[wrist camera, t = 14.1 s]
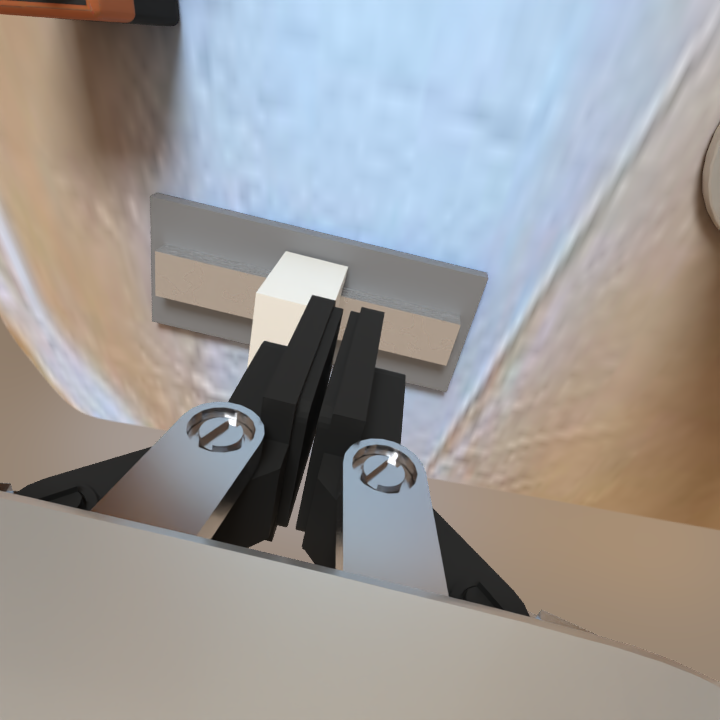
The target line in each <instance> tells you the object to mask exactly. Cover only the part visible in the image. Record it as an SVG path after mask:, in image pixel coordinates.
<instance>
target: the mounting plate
mask: <svg viewBox="0 0 720 720" xmlns="http://www.w3.org/2000/svg"><path fill="white" fill-rule="evenodd" d="M150 215H151V279H152V321H153V322H157V323H161V324H165V325H169V326H173V327H177V328H182V329H186V330H190V331H194V332H198V333H202V334H207V335H211V336H215V337H219V338H223V339H227V340H231V341H236V342H240V343H244V344H248V345H250V341H251V332H252V324H253V319H250V318H246V317H242V316H238V315H233V314H229V313H225V312H221V311H217V310H213V309H209V308H204V307H200V306H196V305H192V304H188V303H184V302H180V301H175V300H171V299H167V298H163V297H159V296H155V251H156V250H157V249H158V248H160V247H161V246H162V245H164V244H166V245H170V246H174V247H179V248H183V249H187V250H191V251H195V252H199V253H203V254H208V255H212V256H216V257H220V258H224V259H228V260H232V261H236V262H241V263H245V264H249V265H253V266H257V267H261V268H265V269H270V270H273V268H274V267H275V266H276V264H277V263H278V261H279V260H280V259H281V257H282V256H283V254H284V253H285V252H286V251H288V252H292V253H296V254H300V255H304V256H308V257H311V258H315V259H319V260H323V261H327V262H331V263H335V264H339V265H343V266H347V267H348V270H347V275H346V279H345V283H344V286H343V287H344V288H348V289H352V290H356V291H361V292H365V293H369V294H373V295H377V296H381V297H385V298H389V299H394V300H398V301H402V302H406V303H410V304H414V305H418V306H423V307H427V308H431V309H435V310H439V311H443V312H447V313H451V314H456V315H460V322H461V326H460V329H459V332H458V334H457V337H456V340H455V343H454V346H453V348H452V351H451V354H450V357H449V360H448V362H447V365H446V366H445V365H441V364H437V363H433V362H428V361H424V360H420V359H416V358H412V357H408V356H404V355H399V354H395V353H391V352H387V351H383V350H379V349H378V354H377V360H376V365H375V367H376V368H381V369H385V370H389V371H393V372H397V373H401V374H405V375H406V380H405V382H406V383H410V384H414V385H418V386H423V387H427V388H431V389H435V390H439V391H443V392H446V391H447V388H448V386H449V383H450V380H451V378H452V375H453V372H454V369H455V367H456V364H457V361H458V359H459V356H460V353H461V350H462V348H463V345H464V342H465V340H466V337H467V334H468V332H469V329H470V326H471V323H472V321H473V318H474V315H475V313H476V310H477V307H478V304H479V302H480V299H481V296H482V294H483V291H484V288H485V285H486V283H487V280H488V275H487V273H486V272H482V271H478V270H474V269H469V268H465V267H461V266H457V265H453V264H449V263H445V262H441V261H436V260H432V259H428V258H424V257H420V256H416V255H412V254H408V253H403V252H399V251H395V250H391V249H387V248H383V247H379V246H375V245H370V244H366V243H362V242H358V241H354V240H350V239H346V238H342V237H338V236H333V235H329V234H325V233H321V232H317V231H313V230H309V229H305V228H300V227H296V226H292V225H288V224H284V223H280V222H276V221H272V220H267V219H263V218H259V217H255V216H251V215H247V214H243V213H239V212H234V211H230V210H226V209H222V208H218V207H214V206H210V205H206V204H201V203H197V202H193V201H189V200H185V199H181V198H177V197H173V196H169V195H164V194H160V193H155V194H153V195H151V196H150ZM340 345H341V340H337V344H336V348H335V353H334V358H333V362H332V365H334V364H335V361H336V358H337V354H338V351H339V348H340Z"/></svg>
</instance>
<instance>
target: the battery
mask: <svg viewBox="0 0 720 720" xmlns="http://www.w3.org/2000/svg"><path fill="white" fill-rule="evenodd" d="M0 14H7V15H20V16H33V17H46V18H59V19H73V20H86V21H101V22H115V23H130V24H145V25H159V26H174V25H176V24H177V23H178V21H179V13H178V3H177V0H0Z"/></svg>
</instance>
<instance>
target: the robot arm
mask: <svg viewBox="0 0 720 720" xmlns="http://www.w3.org/2000/svg"><path fill="white" fill-rule="evenodd" d="M703 196H704V201H705V205H706V209H707V212H708V213H709V215H710V217H711V219H712V221H713V223H714V225H715V226H716V227H717V228H718V229H719V230H720V124H719V126H718V127H717V129H716V131H715V133H714V136H713V138H712V141H711V143H710V146H709V149H708V151H707V155H706V159H705V164H704V169H703ZM335 305H336V300H332V299H328V298H324V297H319V296H315V295H312V296H311V298H310V300H309V302H308V304H307V306H306V308H305V311H304V313H303V315H302V317H301V319H300V321H299V323H298V325H297V327H296V329H295V331H294V333H293V335H292V338H291V340H290V342H289V344H288V346H285V345H281V344H277V343H273V342H268V341H263V343H262V344H261V346H260V347H259V349H258V351H257V352H256V354H255V356H254V358H253V359H252V361H251V363H250V365H249V366H248V368H247V370H246V372H245V373H244V375H243V377H242V379H241V380H240V382H239V384H238V386H237V387H236V389H235V391H234V393H233V394H232V396H231V398H230V400H229V401H228V402H212V403H206V404H202V405H199V406H197V407H194V408H192V409H190V410H189V411H188V412H186V413H185V414H184V415H183V416H182V417H181V418H180V419H179V420H178V421H177V422H176V423H175V424H174V425H173V426H172V427H171V428H170V429H169V430H168V431H167V432H166V433H165V434H164V435H163V436H162V437H161V438H160V439H159V440H158V441H157V442H156V443H155V444H154V445H153V446H152V447H149V448H146V449H143V450H139V451H136V452H132V453H129V454H126V455H123V456H119V457H116V458H112V459H109V460H106V461H102V462H99V463H95V464H92V465H89V466H85V467H82V468H79V469H75V470H72V471H69V472H65V473H62V474H59V475H55V476H52V477H48V478H46V479H42V480H40V481H37V482H35V483H33V484H30V485H27V486H26V487H24V488H23V489H21V490H20V491H13V490H12V486H11V484H10V483H0V720H720V682H719V681H717V680H715V679H712V678H710V677H708V676H706V675H704V674H702V673H700V672H697V671H695V670H693V669H691V668H689V667H687V666H684V665H682V664H680V663H678V662H676V661H674V660H671V659H668V658H666V657H663V656H660V655H657V654H654V653H652V652H649V651H647V650H644V649H641V648H638V647H636V646H633V645H629V644H626V643H622V642H618V641H615V640H612V639H608V638H605V637H602V636H598V635H596V634H594V633H592V632H590V631H587V630H585V629H583V628H581V627H579V626H576V625H574V624H572V623H570V622H568V621H565V620H563V619H561V618H559V617H557V616H554V615H552V614H550V613H548V612H546V611H543V610H541V611H540V612H539V614H538V615H535V614H533V613H531V612H528V611H527V609H526V607H525V605H524V603H523V602H522V601H521V599H520V598H519V597H518V596H517V594H516V593H515V592H514V591H513V590H512V589H511V588H510V587H509V585H508V584H507V583H506V582H505V581H504V580H503V579H502V578H501V577H500V576H499V575H498V574H497V573H496V572H495V571H494V570H493V569H492V568H491V567H490V566H489V565H488V564H487V563H486V562H485V561H484V560H483V559H482V558H481V557H480V556H479V555H478V554H477V553H476V552H475V551H474V550H473V549H472V548H471V547H470V546H469V545H468V544H467V543H466V542H465V540H464V539H463V538H462V537H461V536H460V535H459V534H457V532H456V531H455V530H454V529H453V528H452V527H451V526H450V525H449V524H448V523H447V522H446V521H445V520H444V519H443V518H442V517H441V516H440V515H439V514H438V513H437V512H436V511H435V510H434V509H433V508H432V504H431V498H430V492H429V487H428V482H427V476H426V472H425V469H424V467H423V464H422V463H421V461H420V460H419V459H418V458H417V456H416V455H415V454H414V453H412V452H411V451H410V450H408V449H407V448H406V447H404V446H402V445H401V432H402V419H403V406H404V393H405V380H406V375H405V374H401V373H397V372H393V371H389V370H385V369H381V368H376V367H375V365H376V360H377V354H378V348H379V343H380V337H381V331H382V326H383V320H384V314H385V312H382V311H377V310H373V309H369V308H365V307H361V311H360V313H359V312H355V311H351V312H350V315H349V318H348V322H347V325H346V328H345V331H344V335H343V338H342V341H341V345H340V348H339V351H338V354H337V358H336V361H335V364H334V367H333V371H332V374H331V377H330V372H331V367H332V362H333V358H334V353H335V348H336V344H337V339H338V334H339V329H340V325H341V320H342V315H343V309H342V308H338V307H335ZM329 377H330V381H329ZM328 381H329V384H328ZM327 386H328V387H327ZM314 437H315V438H314ZM313 440H314V443H313ZM312 443H313V447H312ZM311 447H312V452H311V457H310V462H309V467H308V472H307V476H306V481H305V486H304V491H303V495H302V500H301V505H300V510H299V514H298V519H297V524H296V530H301V531H304V532H305V535H304V539H303V544H302V547H303V549H304V550H305V551H306V552H307V554H308V555H309V557H310V558H311V559H312V561H313V562H314V564H311V563H308V562H303V561H299V560H295V559H291V558H286V557H282V556H278V555H274V554H270V553H266V552H261V551H257V550H253V549H249V547H250V546H253V545H255V544H257V543H259V542H261V541H263V540H267V541H272V540H273V537H274V534H275V530H276V527H277V525H279V526H283V527H287V526H288V523H289V520H290V516H291V513H292V510H293V506H294V503H295V500H296V496H297V493H298V490H299V486H300V483H301V480H302V476H303V473H304V470H305V466H306V463H307V460H308V456H309V453H310V450H311Z"/></svg>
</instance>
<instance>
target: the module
mask: <svg viewBox="0 0 720 720" xmlns="http://www.w3.org/2000/svg"><path fill="white" fill-rule="evenodd" d="M347 270H348V267H347V266H343V265H339V264H335V263H331V262H327V261H323V260H319V259H315V258H311V257H308V256H304V255H300V254H296V253H292V252H288V251H286V252H285V253H284V254H283V256H282V257H281V259H280V260H279V261H278V263H277V264H276V266H275V267H274V268H273V270H272V271H271V273H270V274H269V275H268V277H267V278H266V280H265V281H264V282H263V284H262V285H261V287H260V288H259V289H258V291H257V292H256V298H255V306H254V315H253V324H252V332H251V341H250V349H249V358H248V366H249V365H250V363H251V361H252V359H253V358H254V356H255V354H256V352H257V351H258V349H259V347H260V346H261V344H262V343H263V341H268V342H273V343H277V344H281V345H285V346H288V344H289V342H290V340H291V338H292V335H293V333H294V331H295V329H296V327H297V325H298V323H299V321H300V319H301V317H302V315H303V313H304V311H305V308H306V306H307V304H308V302H309V300H310V298H311V296H312V295H315V296H319V297H324V298H328V299H332V300H336V305H335V307H339V302H340V298H341V293H342V288H343V286H344V283H345V279H346V275H347ZM247 368H248V367H247Z"/></svg>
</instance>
